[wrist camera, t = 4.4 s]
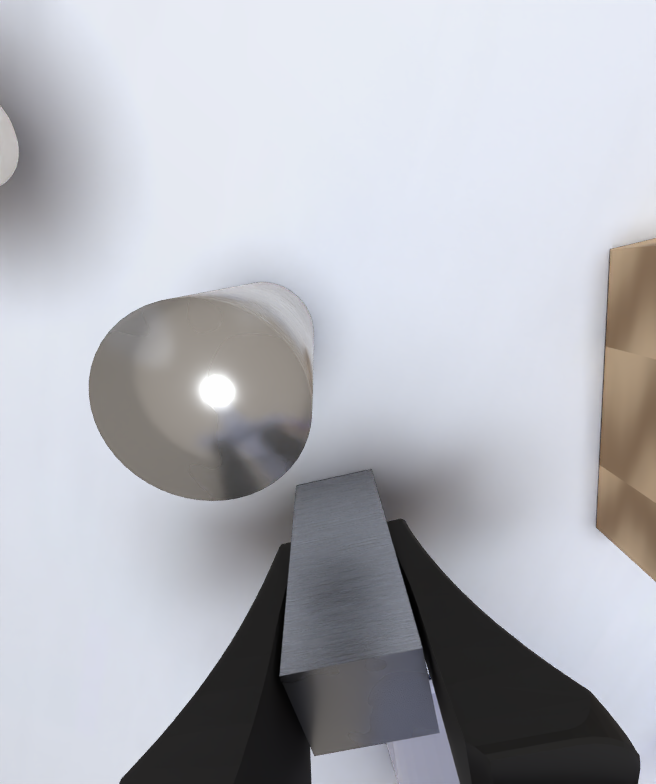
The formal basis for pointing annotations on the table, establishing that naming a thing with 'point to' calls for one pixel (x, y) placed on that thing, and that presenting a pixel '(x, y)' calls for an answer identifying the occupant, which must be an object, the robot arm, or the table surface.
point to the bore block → (630, 407)
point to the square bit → (350, 624)
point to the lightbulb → (7, 148)
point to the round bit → (208, 390)
